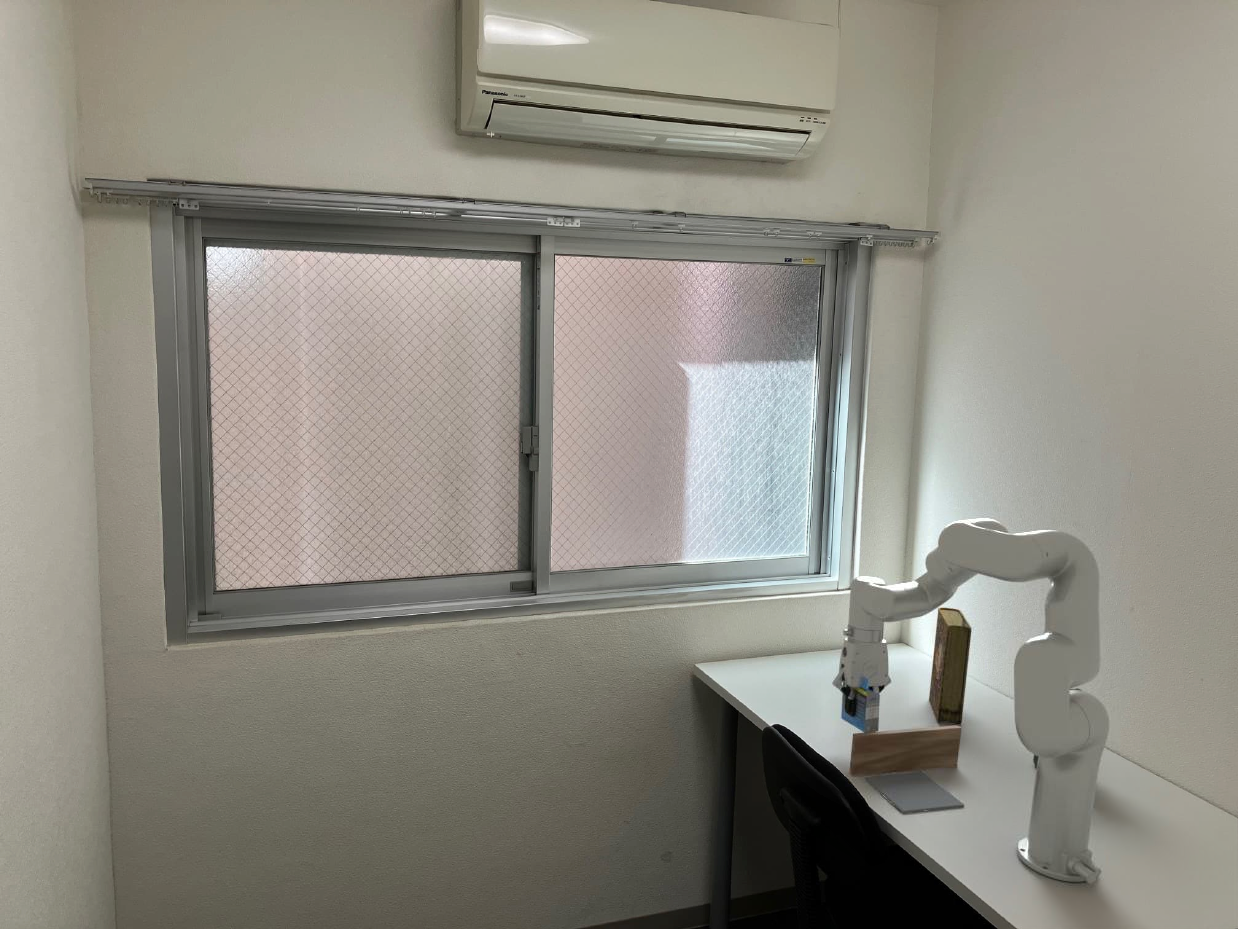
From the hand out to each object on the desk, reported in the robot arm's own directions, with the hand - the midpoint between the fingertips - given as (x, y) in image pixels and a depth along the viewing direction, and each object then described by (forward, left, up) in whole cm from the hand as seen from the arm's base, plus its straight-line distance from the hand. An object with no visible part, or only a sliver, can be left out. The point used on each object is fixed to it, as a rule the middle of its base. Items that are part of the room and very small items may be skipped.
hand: (859, 713), depth 194 cm
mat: (-17, -3, -10) cm, 20 cm away
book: (+18, -36, -10) cm, 41 cm away
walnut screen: (-8, -7, -10) cm, 15 cm away
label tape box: (0, 0, -3) cm, 3 cm away
